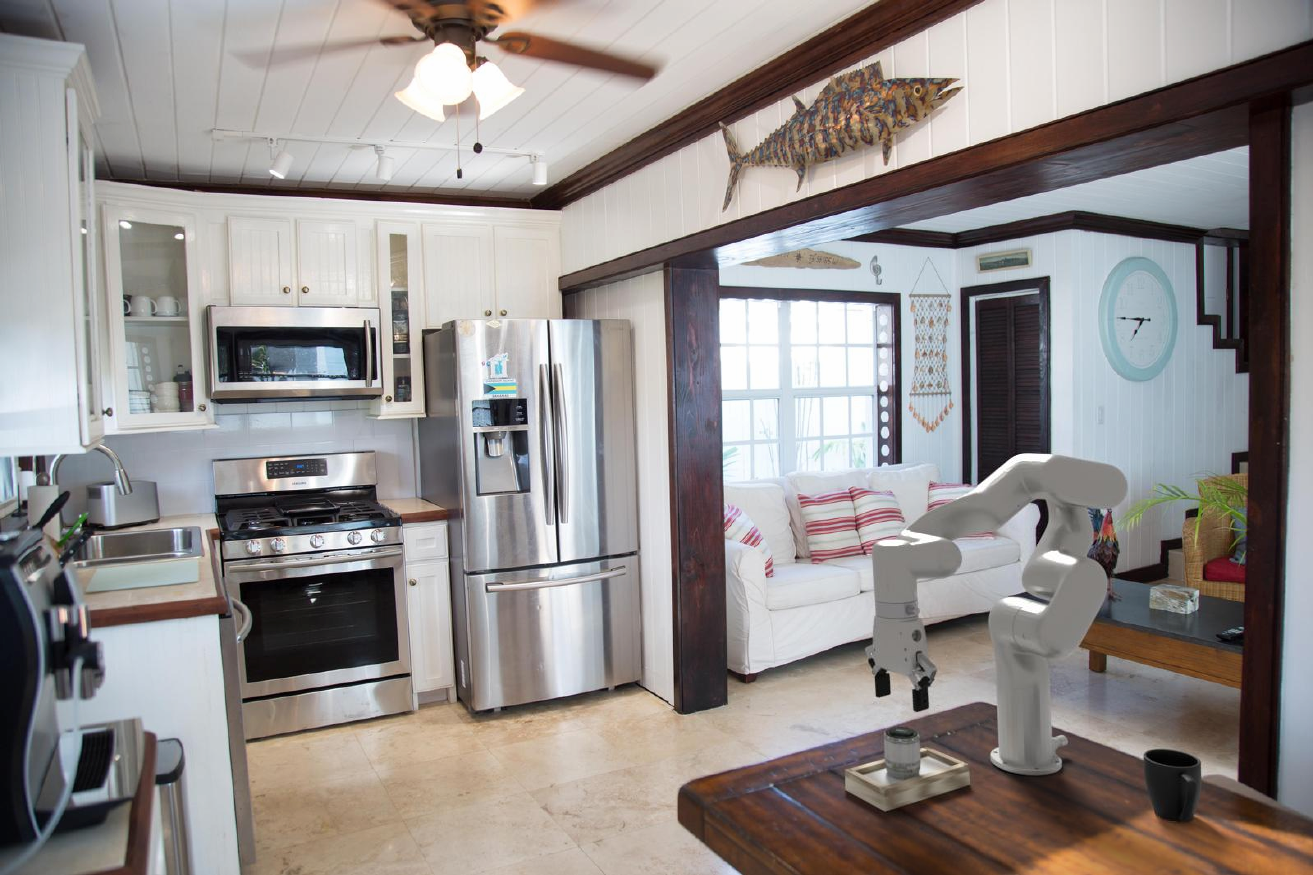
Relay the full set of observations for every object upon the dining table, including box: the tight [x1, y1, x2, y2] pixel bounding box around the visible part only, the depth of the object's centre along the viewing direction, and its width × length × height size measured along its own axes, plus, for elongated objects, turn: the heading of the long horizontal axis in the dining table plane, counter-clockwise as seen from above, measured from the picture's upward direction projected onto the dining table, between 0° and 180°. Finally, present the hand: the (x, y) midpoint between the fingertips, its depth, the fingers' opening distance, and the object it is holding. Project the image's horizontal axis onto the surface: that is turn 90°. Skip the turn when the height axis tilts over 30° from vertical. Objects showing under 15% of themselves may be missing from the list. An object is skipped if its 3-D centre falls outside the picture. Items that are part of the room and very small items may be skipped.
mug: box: [1142, 748, 1202, 824], centre depth 144 cm, size 8×12×10 cm
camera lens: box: [883, 726, 921, 779], centre depth 160 cm, size 6×6×8 cm
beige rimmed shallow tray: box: [844, 746, 971, 812], centre depth 161 cm, size 20×10×4 cm, turn 117°
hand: (901, 702), depth 160 cm, fingers open, 9 cm apart
